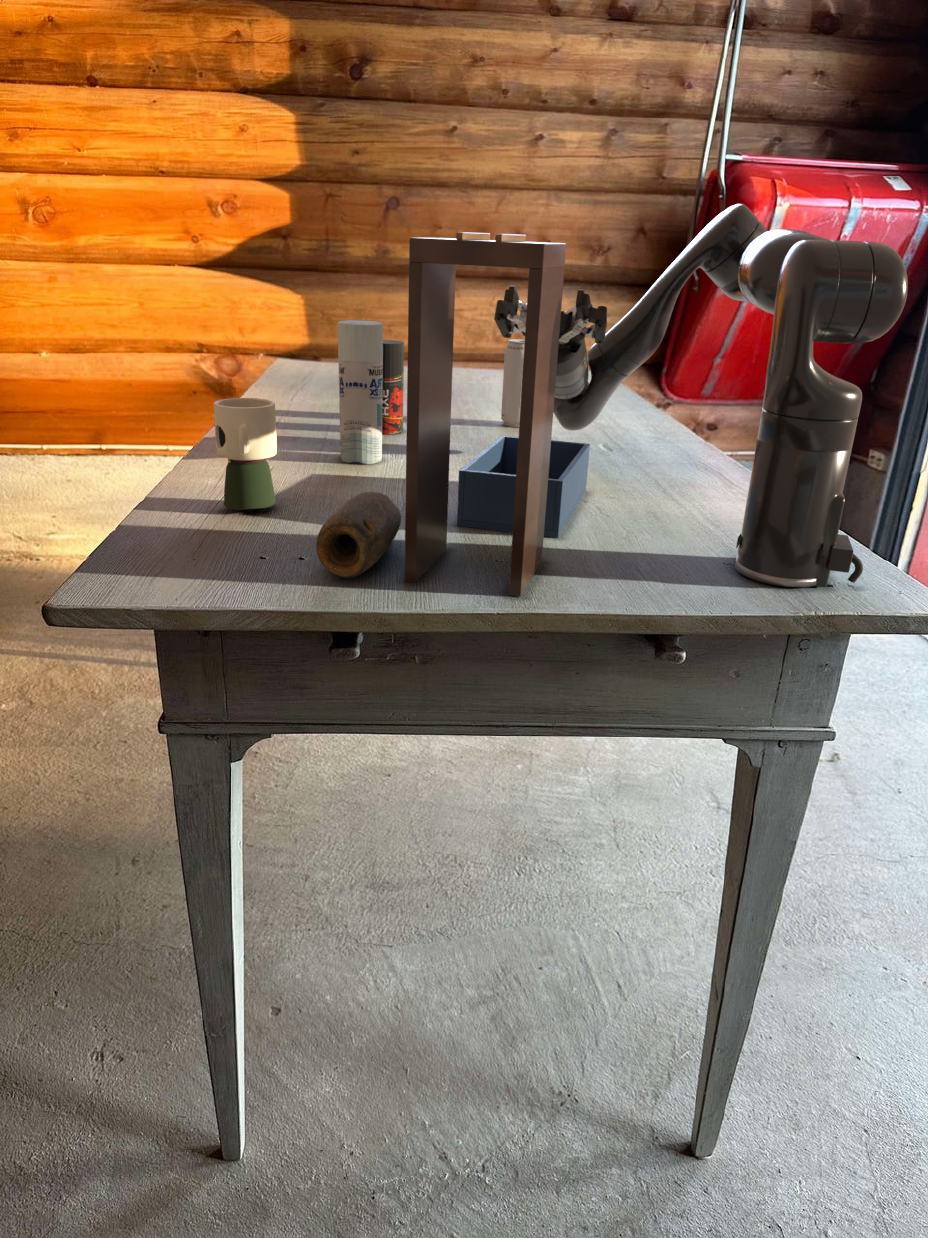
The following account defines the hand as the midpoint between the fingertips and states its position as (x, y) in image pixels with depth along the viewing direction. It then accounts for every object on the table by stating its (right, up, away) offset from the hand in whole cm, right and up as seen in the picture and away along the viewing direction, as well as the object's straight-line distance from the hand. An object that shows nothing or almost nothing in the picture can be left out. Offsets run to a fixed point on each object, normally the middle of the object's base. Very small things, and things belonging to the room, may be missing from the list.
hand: (545, 294), depth 111 cm
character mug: (-37, -26, +2) cm, 45 cm away
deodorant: (-24, -7, +48) cm, 54 cm away
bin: (-2, -25, +7) cm, 26 cm away
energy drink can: (0, -4, +58) cm, 58 cm away
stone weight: (-21, -34, -14) cm, 42 cm away
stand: (-9, -35, -16) cm, 39 cm away
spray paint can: (-26, -15, +28) cm, 41 cm away
